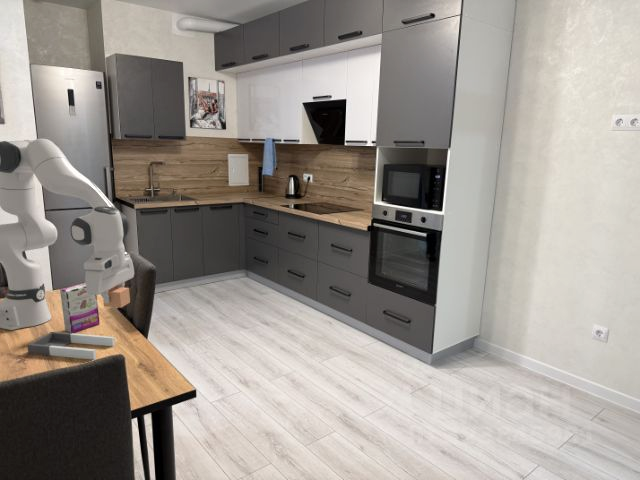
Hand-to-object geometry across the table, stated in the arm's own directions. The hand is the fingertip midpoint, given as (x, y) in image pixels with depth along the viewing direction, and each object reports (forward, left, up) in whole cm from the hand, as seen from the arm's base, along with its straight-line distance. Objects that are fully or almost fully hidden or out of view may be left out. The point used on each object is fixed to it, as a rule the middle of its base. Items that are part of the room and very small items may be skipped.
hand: (113, 299), depth 145 cm
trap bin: (-25, 0, -19) cm, 31 cm away
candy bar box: (-26, +17, -19) cm, 36 cm away
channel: (-13, 0, -19) cm, 23 cm away
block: (+1, 0, -2) cm, 2 cm away
